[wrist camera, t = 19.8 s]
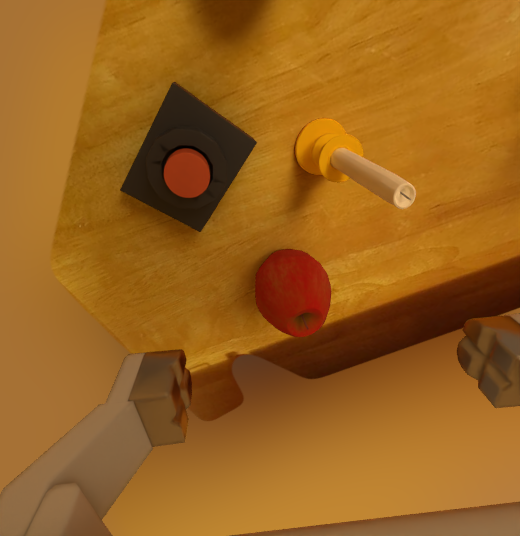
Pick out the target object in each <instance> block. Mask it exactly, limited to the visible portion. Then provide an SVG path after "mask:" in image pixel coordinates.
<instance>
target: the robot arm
mask: <svg viewBox="0 0 520 536" xmlns="http://www.w3.org/2000/svg"><path fill="white" fill-rule="evenodd" d="M463 332H464V333H465V335H466V336H465V337H464V338H463V339H462V340H461V341H460V342H459V344H458V348H457V355H458V361H459V363H460V365H461V367H462V368H463V369H464V371H465V372H466V373H467V374H468V375H469V376H471V377H473V378H475V379H477V380H478V388H479V389H480V390H481V391H482V393H483V394H484V395H485V396H486V397H487V399H488V400H489V401H490V402H491V403H492V405H493V406H494V407H495V408H502V407H514V406H520V313H518V314H511V315H504V316H494V317H486V318H477V319H469V320H468V321H467V322H466V323H465V325H464V328H463ZM185 364H186V356H185V353H184V351H183V350H182V349H181V350H168V351H156V352H147V353H135V354H128V355H127V356H126V357H125V359H124V361H123V363H122V366H121V368H120V370H119V373H118V375H117V377H116V380H115V382H114V384H113V387H112V389H111V391H110V394H109V396H108V399H107V401H106V403H105V404H100V405H98V406H97V407H96V408H95V409H94V410H93V411H92V412H90V413H89V414H88V415H87V416H86V417H85V418H83V419H82V420H81V421H80V422H79V423H78V424H77V425H76V426H74V427H73V428H72V429H71V430H70V431H69V432H68V433H66V434H65V435H64V436H63V437H62V438H61V439H60V440H58V441H57V442H56V443H55V444H54V445H53V446H52V447H50V448H49V449H48V450H47V451H46V452H45V453H44V454H43V455H41V456H40V457H39V458H38V459H37V460H36V461H34V462H33V463H32V464H31V465H30V466H29V467H28V468H26V469H25V470H24V471H23V472H22V473H21V474H20V475H18V476H17V477H16V478H15V479H14V480H13V481H12V482H10V483H9V484H8V485H7V486H6V487H5V488H4V489H3V490H2V492H1V494H0V536H112V535H111V533H110V532H109V530H108V529H107V527H106V526H105V524H104V523H103V522H102V519H103V517H104V516H105V515H106V513H107V512H108V510H109V509H110V508H111V506H112V505H113V503H114V502H115V501H116V499H117V498H118V496H119V495H120V494H121V492H122V491H123V490H124V488H125V487H126V485H127V484H128V483H129V481H130V480H131V478H132V477H133V475H134V474H135V473H136V472H137V470H138V469H139V467H140V466H141V465H142V463H143V461H144V460H145V459H146V457H147V456H148V455H149V453H150V452H151V451H152V447H155V446H161V445H169V444H176V443H184V442H185V438H186V432H187V426H188V416H187V412H186V409H187V408H188V407H189V406H190V405H191V398H192V382H191V375H190V371H189V370H188V369H186V368H185ZM232 536H520V502H513V503H504V504H496V505H487V506H479V507H470V508H461V509H453V510H444V511H437V512H427V513H419V514H410V515H401V516H393V517H384V518H376V519H367V520H359V521H350V522H342V523H333V524H325V525H316V526H308V527H300V528H291V529H282V530H273V531H265V532H257V533H248V534H240V535H232Z"/></svg>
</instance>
